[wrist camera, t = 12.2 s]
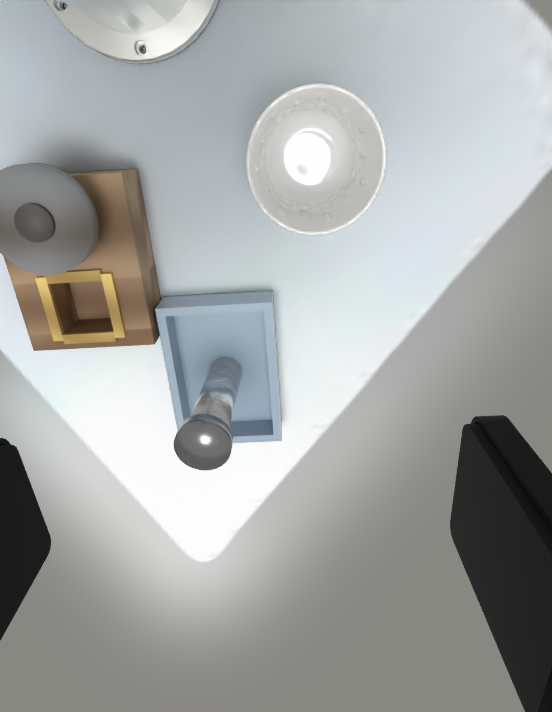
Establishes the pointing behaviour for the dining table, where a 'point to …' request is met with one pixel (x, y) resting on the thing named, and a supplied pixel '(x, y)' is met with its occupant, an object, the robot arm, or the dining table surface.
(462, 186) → the dining table surface
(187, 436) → the lock pin
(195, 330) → the tray
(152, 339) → the block
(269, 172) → the white cup
